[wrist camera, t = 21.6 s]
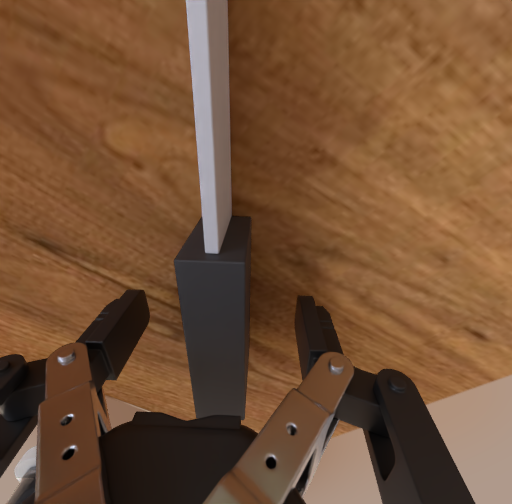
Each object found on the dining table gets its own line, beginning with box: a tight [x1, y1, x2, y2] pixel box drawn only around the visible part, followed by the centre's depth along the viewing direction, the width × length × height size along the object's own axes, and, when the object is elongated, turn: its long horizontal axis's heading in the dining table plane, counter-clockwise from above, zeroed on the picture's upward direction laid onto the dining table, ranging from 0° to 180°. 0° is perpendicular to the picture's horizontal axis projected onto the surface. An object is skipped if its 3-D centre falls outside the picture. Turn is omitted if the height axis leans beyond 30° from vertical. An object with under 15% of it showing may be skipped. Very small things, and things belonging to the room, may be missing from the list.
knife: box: [174, 0, 251, 420], centre depth 10 cm, size 2×20×4 cm, turn 179°
